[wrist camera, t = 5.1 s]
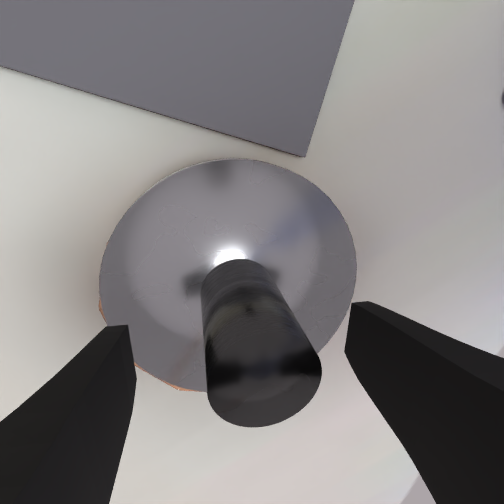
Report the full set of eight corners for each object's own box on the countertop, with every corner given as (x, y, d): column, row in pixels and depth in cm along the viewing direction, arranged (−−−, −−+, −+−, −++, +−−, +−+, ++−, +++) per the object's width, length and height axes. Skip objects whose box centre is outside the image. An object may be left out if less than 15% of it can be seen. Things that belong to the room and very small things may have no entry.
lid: (358, 153, 11) (490, 167, 6) (336, 361, 15) (410, 473, 10) (77, 163, 9) (-41, 192, 5) (129, 394, 13) (92, 550, 8)
